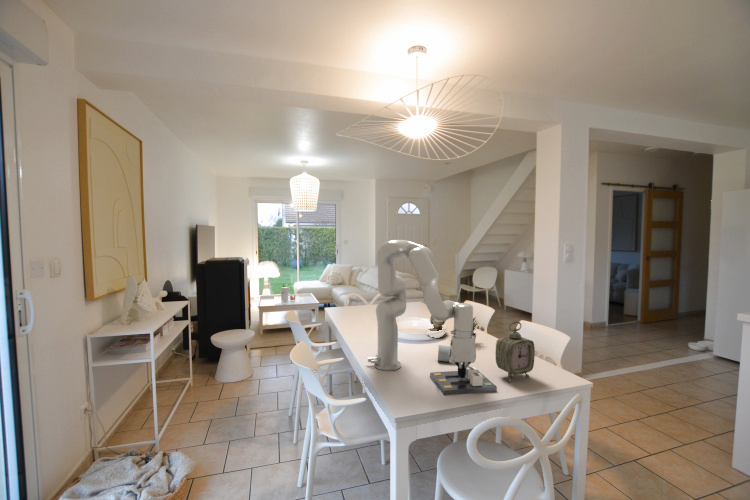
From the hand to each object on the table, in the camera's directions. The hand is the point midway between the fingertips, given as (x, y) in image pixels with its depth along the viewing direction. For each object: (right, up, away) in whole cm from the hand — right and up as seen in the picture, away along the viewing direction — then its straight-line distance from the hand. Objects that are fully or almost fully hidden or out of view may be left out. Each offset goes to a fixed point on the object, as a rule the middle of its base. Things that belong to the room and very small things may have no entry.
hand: (461, 376), depth 139 cm
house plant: (+18, -1, +52) cm, 55 cm away
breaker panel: (0, -3, 0) cm, 3 cm away
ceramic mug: (-1, -2, +27) cm, 27 cm away
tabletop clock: (+24, -3, +7) cm, 25 cm away
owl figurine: (+2, -1, +70) cm, 70 cm away
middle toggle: (+4, -1, +1) cm, 4 cm away
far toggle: (+3, -1, +7) cm, 7 cm away
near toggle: (+4, -1, -5) cm, 7 cm away
